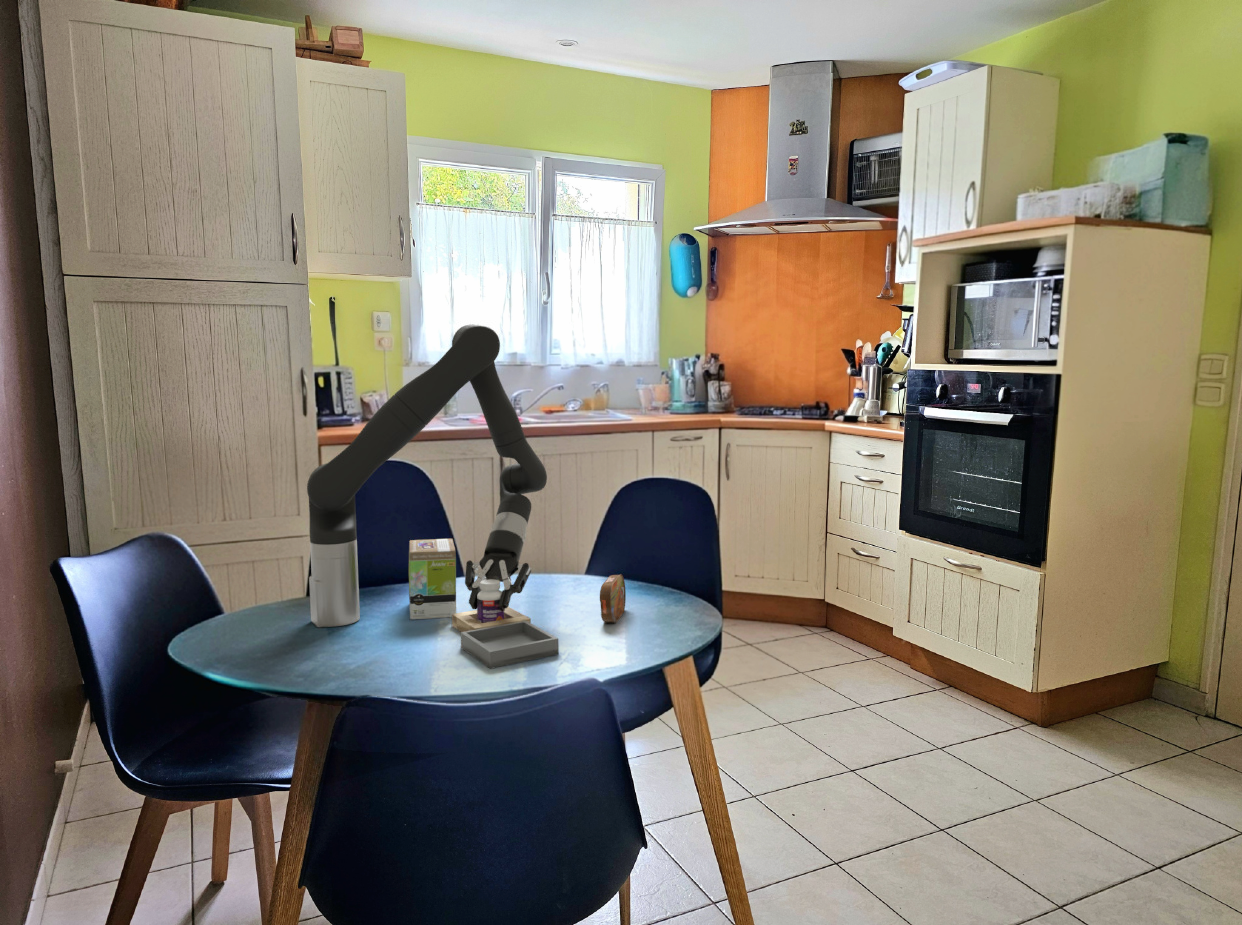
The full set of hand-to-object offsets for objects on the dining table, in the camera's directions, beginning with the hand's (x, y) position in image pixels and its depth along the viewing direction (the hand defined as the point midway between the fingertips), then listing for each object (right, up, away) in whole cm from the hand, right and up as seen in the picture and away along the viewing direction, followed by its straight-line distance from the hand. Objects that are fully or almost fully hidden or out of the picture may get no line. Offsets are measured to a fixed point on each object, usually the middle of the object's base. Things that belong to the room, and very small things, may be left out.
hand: (487, 607), depth 165 cm
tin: (+25, -4, +10) cm, 27 cm away
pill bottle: (0, -5, +2) cm, 5 cm away
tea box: (-15, -4, +16) cm, 22 cm away
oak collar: (0, -5, +2) cm, 5 cm away
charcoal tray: (+6, -6, -12) cm, 15 cm away
